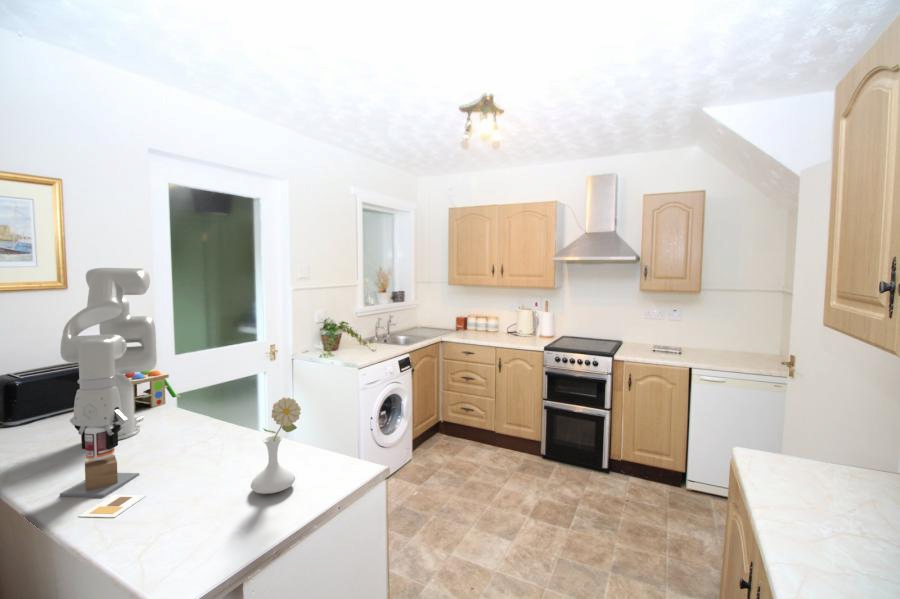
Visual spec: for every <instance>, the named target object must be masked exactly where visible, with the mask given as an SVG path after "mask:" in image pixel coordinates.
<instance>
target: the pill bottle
mask: <svg viewBox="0 0 900 599" xmlns="http://www.w3.org/2000/svg"><path fill="white" fill-rule="evenodd" d="M111 427H112V429H113V426H112V425H111ZM107 435H109V434H108V432H107V430H106V428H105V427H86V428H85V449H84V452H85V459H86V461H88V460H99V459H104V458H107V457H110V456H111V455H115V449H116V447H114V448H112V449H110V450H107V449H106V436H107Z"/></svg>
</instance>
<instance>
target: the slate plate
mask: <svg viewBox="0 0 900 599" xmlns="http://www.w3.org/2000/svg"><path fill="white" fill-rule="evenodd" d="M139 476H140V472H139V473H138V472H117V477H118V483H115V484H112V485H108V486H104V487H100V488H96V489H93V490H89V491H87V490H86V483H85V480H84V479H83V480H82V481H80V482H79V483H76V484H75V485H72V486H71V487H69V488H67V489H66V490H63V491H61V492H60V493H59V497H67V498H69V497H75V498H105V497H107V496H108V495H111V494H112V493H114V492H115V491H117V490H119V489H120V488H122V487H124V486H125V485H126V484H129V483H130V482H131V481H133V480H134V479H136V478H137V477H139Z"/></svg>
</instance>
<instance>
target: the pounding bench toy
mask: <svg viewBox="0 0 900 599" xmlns="http://www.w3.org/2000/svg"><path fill="white" fill-rule="evenodd" d="M124 375H125V376H126V377H127V378H128V379H129V380H130V381H131V382H132V384H133V392H134V412H136V404H137V403H142V404H144V406H149V407H150V408H151V409H152V408H156V407H160V406H163V405H166V404H167V402H166V401H167V400H166V390H167V391H168V393H169V395H170V396H171V397H172V398H176V397H177V398H182V396H181V395H179V394H177V393H176V392H175V391H174V389H173V388H172V385H170V383H169V382H168V380H167V379H168V378H170V374H169V373H166V372H160V371H158V370H156V369H155V370H154V369H153V370H150V371H145V372H135V373H127V374H124ZM144 383H149V389H146V390H144V391H143V394H139V395H138V385H141V384H144Z"/></svg>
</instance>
